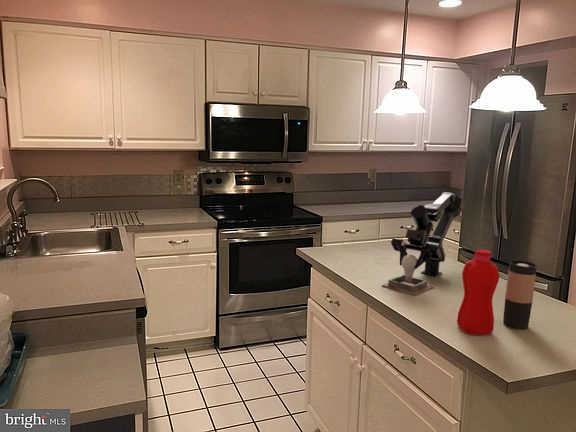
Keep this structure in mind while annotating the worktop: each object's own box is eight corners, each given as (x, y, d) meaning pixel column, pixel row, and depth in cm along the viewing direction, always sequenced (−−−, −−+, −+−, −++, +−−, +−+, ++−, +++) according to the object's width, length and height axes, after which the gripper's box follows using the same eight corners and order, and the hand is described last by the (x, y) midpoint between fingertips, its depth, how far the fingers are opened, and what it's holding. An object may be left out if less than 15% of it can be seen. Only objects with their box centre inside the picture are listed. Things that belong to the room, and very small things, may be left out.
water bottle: (477, 321, 152) (486, 244, 148) (497, 336, 142) (506, 254, 137) (450, 322, 151) (457, 245, 146) (467, 337, 140) (476, 254, 136)
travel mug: (497, 320, 153) (504, 260, 150) (520, 320, 154) (527, 260, 150) (510, 330, 146) (518, 267, 142) (534, 330, 147) (542, 267, 143)
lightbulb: (412, 286, 179) (414, 258, 177) (397, 282, 183) (399, 254, 181) (418, 282, 184) (421, 254, 182) (404, 279, 187) (406, 251, 185)
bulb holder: (400, 278, 193) (401, 272, 193) (433, 287, 184) (433, 281, 183) (381, 286, 183) (382, 279, 183) (414, 295, 174) (415, 289, 173)
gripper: (394, 217, 188) (379, 250, 181) (440, 224, 176) (426, 260, 170) (402, 233, 195) (387, 265, 189) (447, 241, 184) (433, 276, 177)
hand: (407, 266), depth 181 cm, fingers closed on lightbulb, 6 cm apart
